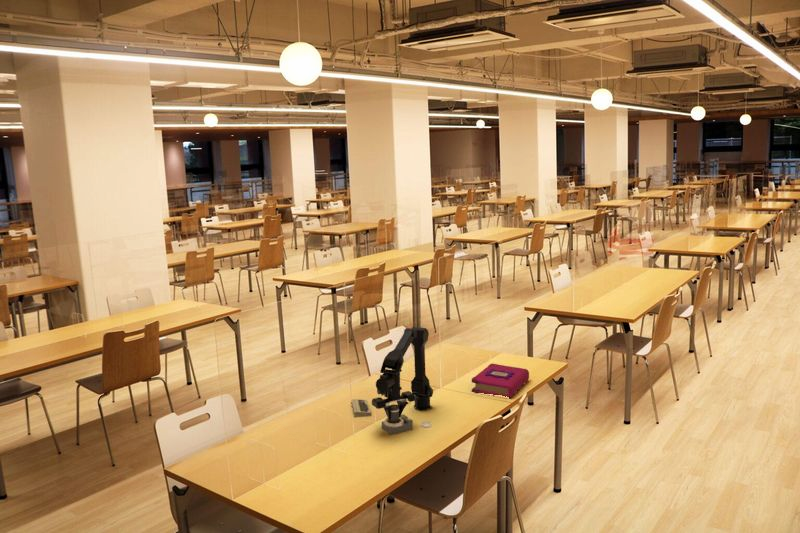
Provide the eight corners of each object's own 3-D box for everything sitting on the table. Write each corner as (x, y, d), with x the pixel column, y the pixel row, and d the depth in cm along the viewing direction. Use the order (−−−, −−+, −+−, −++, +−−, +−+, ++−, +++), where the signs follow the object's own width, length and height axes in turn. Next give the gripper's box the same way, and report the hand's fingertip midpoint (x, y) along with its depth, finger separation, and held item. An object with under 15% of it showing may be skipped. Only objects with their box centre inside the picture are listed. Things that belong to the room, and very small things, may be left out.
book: (529, 382, 354) (529, 368, 352) (510, 400, 330) (511, 385, 328) (490, 375, 364) (491, 362, 362) (470, 393, 340) (470, 378, 338)
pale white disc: (428, 422, 304) (428, 421, 304) (434, 426, 300) (434, 425, 300) (418, 425, 302) (418, 423, 302) (424, 429, 298) (424, 427, 297)
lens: (396, 418, 299) (395, 403, 298) (401, 422, 295) (401, 406, 294) (386, 420, 297) (386, 405, 295) (391, 424, 293) (391, 408, 291)
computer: (371, 416, 312) (371, 410, 311) (354, 418, 310) (354, 411, 310) (367, 404, 327) (367, 397, 326) (351, 405, 326) (350, 398, 325)
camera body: (403, 423, 303) (403, 412, 302) (412, 429, 296) (412, 419, 295) (381, 428, 298) (381, 417, 297) (390, 435, 291) (390, 424, 290)
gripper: (403, 374, 304) (403, 407, 307) (365, 382, 295) (366, 416, 298) (415, 382, 294) (416, 416, 297) (377, 390, 286) (378, 425, 288)
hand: (393, 418), depth 296 cm, fingers closed on lens, 4 cm apart
